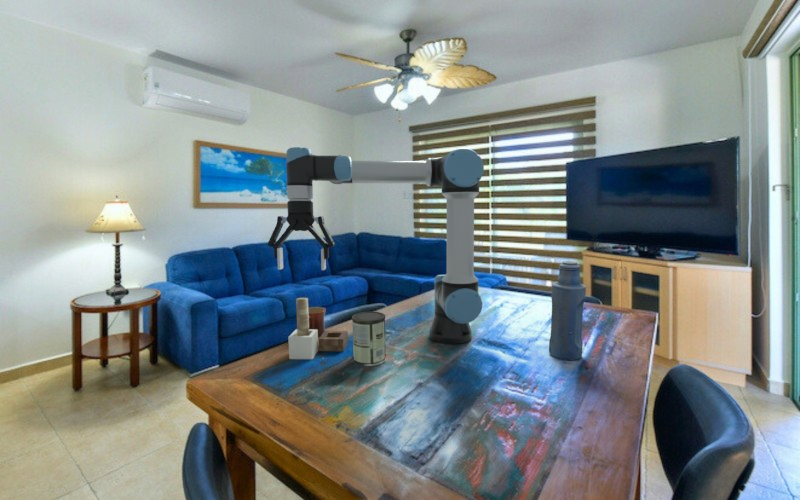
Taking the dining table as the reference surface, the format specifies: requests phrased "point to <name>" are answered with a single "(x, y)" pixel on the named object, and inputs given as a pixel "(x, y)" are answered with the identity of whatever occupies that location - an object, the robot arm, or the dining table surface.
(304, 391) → the dining table surface
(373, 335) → the coffee can
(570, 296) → the bottle
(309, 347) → the white hollow square frame
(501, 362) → the dining table surface
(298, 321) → the dowel
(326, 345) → the socket block
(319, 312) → the mug
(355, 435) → the dining table surface
